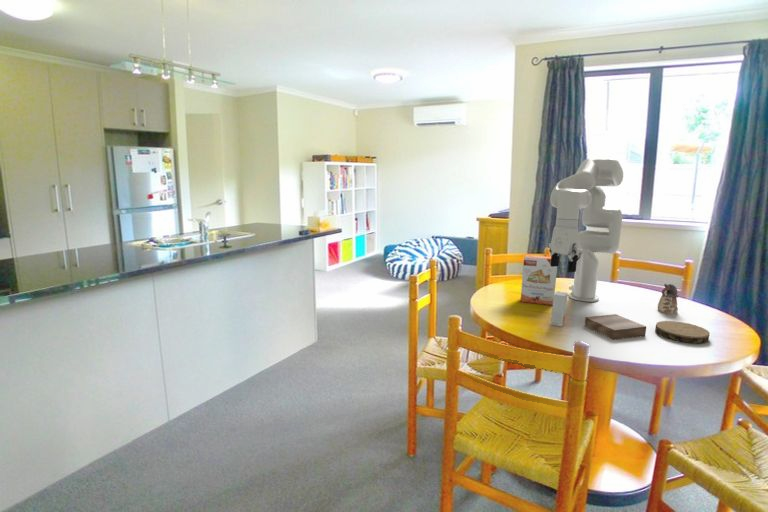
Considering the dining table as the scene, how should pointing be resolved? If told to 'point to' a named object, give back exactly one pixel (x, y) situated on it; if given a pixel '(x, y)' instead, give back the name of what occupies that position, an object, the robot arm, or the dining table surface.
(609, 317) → the walnut base
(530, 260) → the cracker box
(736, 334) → the dining table surface
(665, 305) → the figurine
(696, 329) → the wood slice coaster
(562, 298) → the skincare box
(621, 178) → the robot arm
